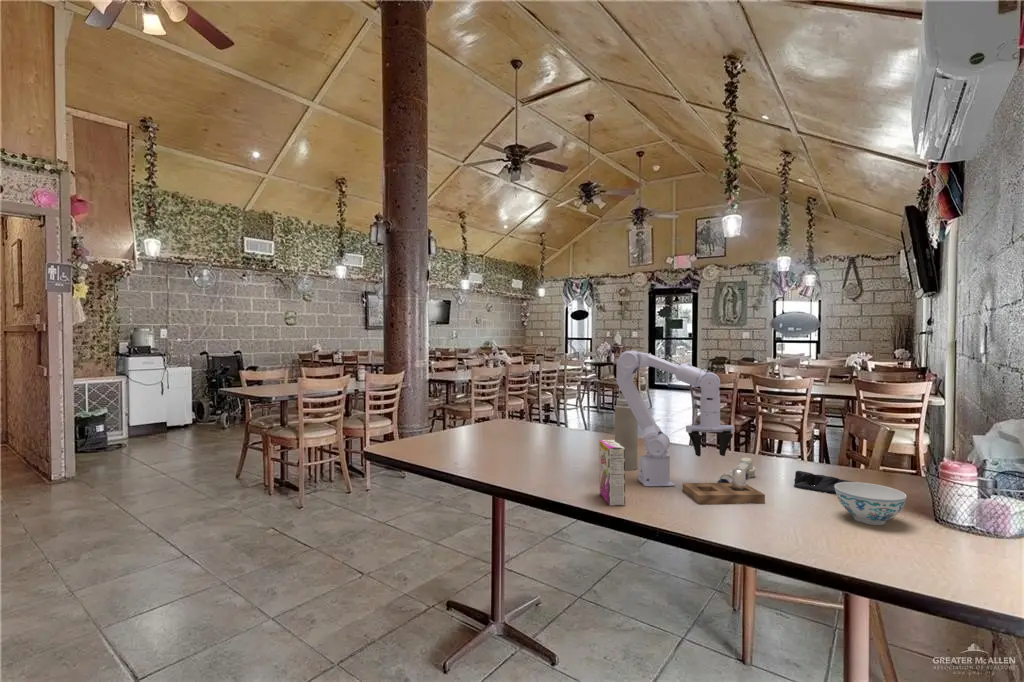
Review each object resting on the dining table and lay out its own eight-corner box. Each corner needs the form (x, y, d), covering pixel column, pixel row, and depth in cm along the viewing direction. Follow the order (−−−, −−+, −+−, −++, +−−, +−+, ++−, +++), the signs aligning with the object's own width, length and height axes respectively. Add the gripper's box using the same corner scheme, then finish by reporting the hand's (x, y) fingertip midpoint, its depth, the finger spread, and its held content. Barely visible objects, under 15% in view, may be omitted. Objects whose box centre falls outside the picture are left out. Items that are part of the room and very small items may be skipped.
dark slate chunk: (872, 504, 141) (873, 488, 141) (788, 487, 157) (788, 472, 157) (885, 493, 151) (885, 477, 151) (804, 478, 168) (804, 464, 168)
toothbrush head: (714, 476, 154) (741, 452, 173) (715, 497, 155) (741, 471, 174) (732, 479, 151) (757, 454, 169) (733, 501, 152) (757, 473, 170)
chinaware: (910, 536, 117) (910, 503, 117) (834, 523, 125) (834, 493, 125) (902, 516, 130) (902, 487, 130) (833, 506, 138) (833, 478, 138)
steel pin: (735, 499, 145) (735, 471, 145) (729, 495, 148) (729, 468, 148) (747, 498, 145) (747, 471, 145) (741, 495, 148) (741, 468, 148)
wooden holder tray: (698, 504, 140) (698, 495, 140) (682, 491, 152) (682, 483, 152) (764, 503, 141) (764, 494, 141) (743, 490, 153) (743, 482, 153)
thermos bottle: (616, 464, 186) (616, 389, 186) (638, 465, 183) (638, 389, 183) (613, 469, 178) (613, 391, 178) (636, 471, 176) (636, 391, 176)
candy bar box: (598, 494, 150) (598, 439, 150) (614, 493, 150) (614, 439, 150) (608, 506, 138) (608, 447, 138) (626, 506, 139) (625, 447, 139)
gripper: (692, 413, 150) (692, 458, 150) (739, 413, 151) (739, 458, 151) (683, 410, 157) (683, 453, 157) (728, 410, 158) (728, 453, 158)
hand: (710, 455), depth 154 cm, fingers open, 7 cm apart
